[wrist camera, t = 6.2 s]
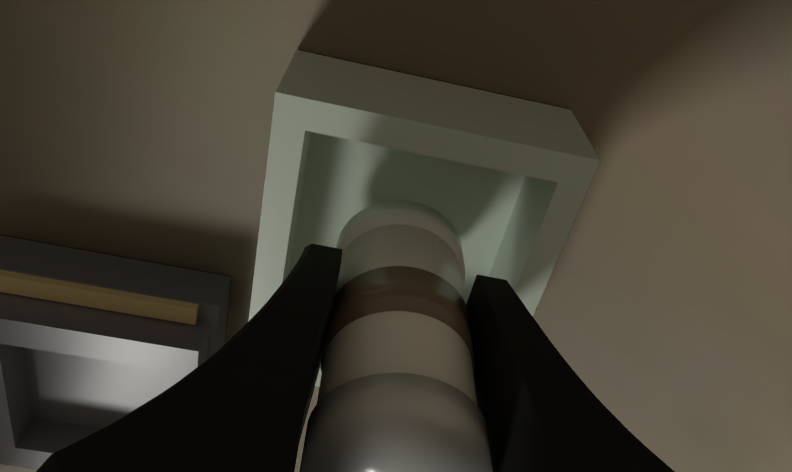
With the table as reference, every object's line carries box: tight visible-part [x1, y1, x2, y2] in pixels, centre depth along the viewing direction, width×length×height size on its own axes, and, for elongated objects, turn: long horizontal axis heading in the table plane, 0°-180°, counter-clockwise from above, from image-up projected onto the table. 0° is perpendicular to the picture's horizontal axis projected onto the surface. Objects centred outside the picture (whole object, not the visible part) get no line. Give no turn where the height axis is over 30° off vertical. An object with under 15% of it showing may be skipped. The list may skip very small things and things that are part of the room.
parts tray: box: [248, 50, 601, 387], centre depth 14 cm, size 7×6×2 cm
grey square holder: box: [0, 235, 231, 469], centre depth 17 cm, size 7×6×2 cm
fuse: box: [300, 200, 493, 472], centre depth 12 cm, size 3×3×6 cm
